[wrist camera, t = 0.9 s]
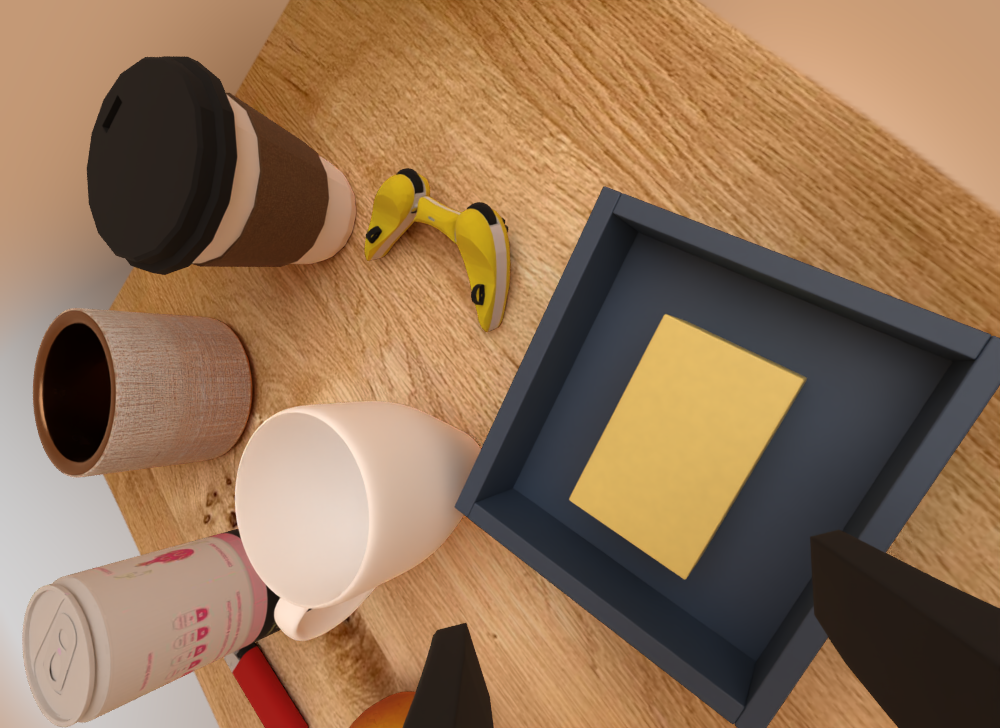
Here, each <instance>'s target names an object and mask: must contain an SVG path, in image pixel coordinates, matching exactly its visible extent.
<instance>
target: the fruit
mask: <svg viewBox="0 0 1000 728" xmlns="http://www.w3.org/2000/svg"><path fill="white" fill-rule="evenodd" d="M415 693H416V692H412V691H411V692H400V693H396V694H393V695H391V696H388V697H386V698H384V699H382V700H381V701H379V702H377V703H376V704H374V705H373V706H371V707H370V708H368V709H367V710H365V711H364V712H363V713H362V714H361V715H360V716H359V717H358V718H357V719H356V720H355V721H354V722H353V723H352V725H351V726H350V727H349V728H402V727H403V725H404V722H405V719H406V717H407V714H408V711H409V709H410V706H411V704H412V701H413V698H414V696H415Z"/></svg>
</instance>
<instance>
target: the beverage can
mask: <svg viewBox="0 0 1000 728" xmlns="http://www.w3.org/2000/svg"><path fill="white" fill-rule="evenodd" d="M279 599H280V597H279V596H278V595H276V594H275V593H274V592H273V591H272V590H271V589H270V588H269V587H268V586H267V585H266V584H265V583H264V582H263V581H262V579H261V578H260V577H259V575H258V574H257V572H256V571H255V569H254V568H253V566H252V564H251V562H250V560H249V558H248V556H247V554H246V551H245V549H244V546H243V543H242V540H241V537H240V533H239V529H236V530H232V531H228V532H225V533H221V534H217V535H214V536H210V537H206V538H203V539H199V540H195V541H192V542H188V543H184V544H181V545H177V546H173V547H170V548H166V549H163V550H159V551H155V552H152V553H148V554H144V555H141V556H137V557H134V558H130V559H126V560H122V561H119V562H115V563H111V564H108V565H104V566H101V567H97V568H93V569H89V570H86V571H82V572H78V573H75V574H71V575H68V576H64V577H61V578H59V579H57V580H56V581H55V582H53V584H49V585H46V586H43V587H41V588H39V589H38V590H37V591H36V592H35V593H34V595H33V596H32V597H31V599H30V601H29V604H28V606H27V609H26V613H25V618H24V625H23V658H24V665H25V670H26V675H27V679H28V682H29V686H30V689H31V692H32V694H33V697H34V699H35V701H36V703H37V705H38V707H39V708H40V710H41V712H42V713H43V714H44V716H45V717H46V718H47V719H48V720H49V721H50V722H51V723H53V724H55V725H57V726H60V727H68V726H71V725H73V724H75V723H77V722H88V721H91V720H93V719H95V718H97V717H99V716H101V715H103V714H105V713H107V712H110V711H112V710H114V709H116V708H118V707H120V706H122V705H124V704H126V703H128V702H130V701H132V700H135V699H137V698H138V697H141V696H143V695H145V694H147V693H149V692H151V691H153V690H156V689H158V688H160V687H162V686H164V685H166V684H168V683H170V682H172V681H174V680H176V679H178V678H181V677H183V676H185V675H187V674H189V673H191V672H193V671H195V670H197V669H199V668H202V667H204V666H206V665H208V664H210V663H212V662H214V661H216V660H218V659H220V658H222V657H225V656H227V655H229V654H231V653H233V652H235V651H237V650H239V649H241V648H243V647H245V646H247V645H250V644H252V643H254V642H256V641H258V640H260V639H262V638H264V637H266V636H268V635H270V634H273V633H275V632H277V631H279V630H281V629H280V628H279V627H278V625H277V624H276V621H275V618H274V611H275V607H276V605H277V603H278V601H279ZM310 610H312V609H310V608H309V609H308V611H310ZM308 611H307V612H308Z"/></svg>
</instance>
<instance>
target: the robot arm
mask: <svg viewBox="0 0 1000 728" xmlns="http://www.w3.org/2000/svg"><path fill="white" fill-rule="evenodd" d="M810 546H811V565H812V583H813V602H814V615H815V617H816V618H817V620H818V622H819V623H820V625H821V626H822V628H823V629H824V631H825V633H826V634H827V636H828V637H829V639H830V640H831V642H832V643H833V645H834V646H835V648H836V649H837V651H838V652H839V654H840V655H841V657H842V658H843V660H844V661H845V663H846V664H847V665H848V667H849V668H850V669H851V670H852V672H853V673H854V674H855V675H856V677H857V678H858V679H859V680H860V682H861V683H862V684H863V685H864V686H865V688H866V689H867V690H868V691H869V693H870V694H871V695H872V696H873V698H874V699H875V700H876V701H877V702H878V704H879V705H880V706H881V707H882V708H883V710H884V711H885V712H886V713H887V715H888V716H889V717H890V718H891V719H892V721H893V722H894V723H895V724H896V725H897V727H898V728H1000V608H997V607H995V606H993V605H991V604H988V603H986V602H984V601H982V600H980V599H978V598H976V597H973V596H971V595H969V594H967V593H965V592H963V591H961V590H959V589H957V588H955V587H952V586H950V585H948V584H946V583H944V582H942V581H940V580H938V579H936V578H934V577H932V576H930V575H928V574H926V573H924V572H922V571H920V570H918V569H916V568H914V567H912V566H910V565H908V564H906V563H904V562H902V561H900V560H898V559H897V558H895V557H893V556H891V555H889V554H887V553H885V552H883V551H881V550H879V549H877V548H875V547H873V546H871V545H869V544H867V543H865V542H863V541H861V540H859V539H857V538H855V537H853V536H851V535H849V534H847V533H845V532H843V531H841V530H835V531H831V532H827V533H823V534H819V535H815V536H811V537H810ZM402 728H494V727H493V719H492V711H491V703H490V696H489V693H488V690H487V687H486V683H485V680H484V677H483V674H482V671H481V668H480V665H479V661H478V658H477V655H476V652H475V649H474V646H473V642H472V639H471V636H470V633H469V630H468V627H467V624H466V623H464V624H460V625H456V626H452V627H448V628H444V629H440V630H437V631H436V633H435V634H434V635H433V638H432V642H431V646H430V649H429V653H428V656H427V660H426V663H425V666H424V669H423V672H422V675H421V678H420V681H419V684H418V687H417V690H416V693H415V696H414V698H413V701H412V704H411V706H410V709H409V711H408V714H407V717H406V719H405V722H404V725H403V727H402Z"/></svg>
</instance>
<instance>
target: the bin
mask: <svg viewBox="0 0 1000 728" xmlns="http://www.w3.org/2000/svg"><path fill="white" fill-rule="evenodd" d="M665 314H668V315H671V316H673V317H676V318H679V319H682V320H685V321H688V322H690V323H692V324H694V325H696V326H698V327H700V328H703V329H705V330H707V331H709V332H711V333H713V334H715V335H717V336H720V337H722V338H724V339H726V340H728V341H730V342H732V343H734V344H737V345H739V346H741V347H743V348H745V349H747V350H749V351H751V352H754V353H756V354H758V355H760V356H762V357H764V358H766V359H768V360H771V361H773V362H775V363H777V364H779V365H781V366H783V367H785V368H788V369H790V370H792V371H794V372H796V373H798V374H800V375H803V376H805V377H806V378H807V380H806V382H805V384H804V386H803V387H802V389H801V391H800V392H799V394H798V396H797V397H796V399H795V401H794V402H793V404H792V406H791V407H790V409H789V411H788V412H787V414H786V416H785V417H784V419H783V421H782V423H781V424H780V426H779V428H778V429H777V431H776V433H775V434H774V436H773V438H772V439H771V441H770V443H769V444H768V446H767V448H766V449H765V451H764V453H763V454H762V456H761V458H760V459H759V461H758V463H757V465H756V466H755V468H754V470H753V471H752V473H751V475H750V476H749V478H748V480H747V481H746V483H745V485H744V486H743V488H742V490H741V491H740V493H739V495H738V496H737V498H736V500H735V502H734V503H733V505H732V507H731V508H730V510H729V512H728V513H727V515H726V517H725V518H724V520H723V522H722V523H721V525H720V527H719V528H718V530H717V532H716V533H715V535H714V537H713V539H712V540H711V542H710V544H709V545H708V547H707V549H706V550H705V552H704V553H703V555H702V556H701V558H700V559H699V561H698V562H697V564H696V565H695V567H694V568H693V570H692V571H691V573H690V574H689V576H688V577H687V579H683V578H681V577H680V576H678V575H677V574H675V573H674V572H673V571H671V570H670V569H668V568H667V567H665V566H664V565H662V564H661V563H660V562H658V561H657V560H655V559H654V558H652V557H651V556H649V555H648V554H646V553H645V552H644V551H642V550H641V549H639V548H638V547H636V546H635V545H633V544H632V543H630V542H629V541H628V540H626V539H625V538H623V537H622V536H620V535H619V534H617V533H616V532H615V531H613V530H612V529H610V528H609V527H607V526H606V525H604V524H603V523H601V522H600V521H599V520H597V519H596V518H594V517H593V516H591V515H590V514H588V513H587V512H586V511H584V510H583V509H581V508H580V507H578V506H577V505H575V504H574V503H572V502H571V501H570V500H569V498H570V496H571V494H572V492H573V490H574V488H575V486H576V484H577V482H578V480H579V478H580V476H581V474H582V472H583V471H584V469H585V467H586V465H587V463H588V461H589V459H590V457H591V455H592V453H593V451H594V449H595V447H596V445H597V443H598V442H599V440H600V438H601V436H602V434H603V432H604V430H605V428H606V426H607V424H608V422H609V420H610V418H611V416H612V414H613V413H614V411H615V409H616V407H617V405H618V403H619V401H620V399H621V397H622V395H623V393H624V391H625V389H626V387H627V385H628V384H629V382H630V380H631V378H632V376H633V374H634V372H635V370H636V368H637V366H638V364H639V362H640V360H641V358H642V356H643V355H644V353H645V351H646V349H647V347H648V345H649V343H650V341H651V339H652V337H653V335H654V333H655V331H656V329H657V327H658V326H659V324H660V322H661V320H662V318H663V316H664V315H665ZM999 386H1000V338H998V337H996V336H991V335H990V334H988V333H986V332H983V331H980V330H978V329H975V328H973V327H970V326H967V325H965V324H962V323H960V322H957V321H954V320H952V319H949V318H947V317H944V316H941V315H939V314H936V313H934V312H931V311H928V310H926V309H923V308H921V307H918V306H915V305H913V304H910V303H907V302H905V301H902V300H900V299H897V298H894V297H892V296H889V295H887V294H884V293H881V292H879V291H876V290H874V289H871V288H868V287H866V286H863V285H861V284H858V283H855V282H853V281H850V280H848V279H845V278H842V277H840V276H837V275H834V274H832V273H829V272H827V271H824V270H821V269H819V268H816V267H814V266H811V265H808V264H806V263H803V262H801V261H798V260H795V259H793V258H790V257H788V256H785V255H782V254H780V253H777V252H775V251H772V250H769V249H767V248H764V247H761V246H759V245H756V244H754V243H751V242H748V241H746V240H743V239H741V238H738V237H735V236H733V235H730V234H728V233H725V232H722V231H720V230H717V229H715V228H712V227H709V226H707V225H704V224H702V223H699V222H696V221H694V220H691V219H689V218H686V217H683V216H681V215H678V214H675V213H673V212H670V211H668V210H665V209H662V208H660V207H657V206H655V205H652V204H649V203H647V202H644V201H642V200H639V199H636V198H634V197H631V196H629V195H626V194H622V193H621V192H618V191H615V190H613V189H610V188H608V187H603V189H602V191H601V193H600V195H599V197H598V199H597V202H596V204H595V206H594V208H593V210H592V212H591V214H590V217H589V219H588V221H587V223H586V225H585V227H584V230H583V232H582V234H581V236H580V238H579V240H578V242H577V245H576V247H575V249H574V251H573V253H572V255H571V257H570V260H569V262H568V264H567V266H566V268H565V270H564V272H563V275H562V277H561V279H560V281H559V283H558V285H557V287H556V290H555V292H554V294H553V296H552V298H551V300H550V302H549V305H548V307H547V309H546V311H545V313H544V315H543V318H542V320H541V322H540V324H539V326H538V328H537V330H536V333H535V335H534V337H533V339H532V341H531V343H530V345H529V348H528V350H527V352H526V354H525V356H524V358H523V360H522V363H521V365H520V367H519V369H518V371H517V373H516V375H515V378H514V380H513V382H512V384H511V386H510V388H509V390H508V393H507V395H506V397H505V399H504V401H503V403H502V406H501V408H500V410H499V412H498V414H497V416H496V418H495V421H494V423H493V425H492V427H491V429H490V431H489V433H488V436H487V438H486V440H485V442H484V444H483V446H482V448H481V451H480V453H479V455H478V457H477V459H476V461H475V463H474V466H473V468H472V470H471V472H470V474H469V476H468V478H467V481H466V483H465V485H464V487H463V489H462V491H461V494H460V496H459V498H458V500H457V502H456V504H455V508H456V509H457V510H458V511H460V512H461V513H462V514H464V515H465V516H466V517H468V519H470V520H471V521H472V522H474V523H475V524H476V525H477V526H479V527H480V528H481V529H483V530H484V531H485V532H486V533H488V534H489V535H490V536H492V537H493V538H494V539H495V540H497V541H498V542H499V543H501V544H502V545H503V546H504V547H506V548H507V549H508V550H510V551H511V552H512V553H513V554H515V555H516V556H517V557H519V558H520V559H521V560H522V561H524V562H525V563H526V564H528V565H529V566H530V567H531V568H533V569H534V570H535V571H536V572H538V573H539V574H540V575H542V576H543V577H544V578H545V579H547V580H548V581H549V582H551V583H552V584H553V585H554V586H556V587H557V588H558V589H560V590H561V591H562V592H563V593H565V594H566V595H567V596H569V597H570V598H571V599H572V600H574V601H575V602H576V603H578V604H579V605H580V606H581V607H583V608H584V609H585V610H587V611H588V612H589V613H590V614H592V615H593V616H594V617H596V618H597V619H598V620H599V621H601V622H602V623H603V624H604V625H606V626H607V627H608V628H610V629H611V630H612V631H613V632H615V633H616V634H617V635H619V636H620V637H621V638H622V639H624V640H625V641H626V642H628V643H629V644H630V645H631V646H633V647H634V648H635V649H637V650H638V651H639V652H640V653H642V654H643V655H644V656H646V657H647V658H648V659H649V660H651V661H652V662H653V663H655V664H656V665H657V666H658V667H660V668H661V669H662V670H664V671H665V672H666V673H667V674H669V675H670V676H671V677H673V678H674V679H675V680H676V681H678V682H679V683H680V684H681V685H683V686H684V687H685V688H687V689H688V690H689V691H690V692H692V693H693V694H694V695H696V696H697V697H698V698H699V699H701V700H702V701H703V702H705V703H706V704H707V705H708V706H710V707H711V708H712V709H714V710H715V711H716V712H717V713H719V714H720V715H721V716H723V717H724V718H725V719H726V720H728V721H729V722H730V723H732V724H734V723H735V726H736V727H737V728H767V726H768V725H769V723H770V722H771V720H772V719H773V717H774V716H775V715H776V713H777V712H778V710H779V709H780V707H781V706H782V704H783V703H784V701H785V700H786V698H787V697H788V695H789V694H790V693H791V691H792V690H793V688H794V687H795V685H796V684H797V682H798V681H799V679H800V678H801V676H802V675H803V673H804V672H805V670H806V669H807V668H808V666H809V665H810V663H811V662H812V660H813V659H814V657H815V656H816V654H817V653H818V651H819V650H820V648H821V647H822V646H823V644H824V643H825V641H826V640H827V638H828V636H827V634H826V633H825V631H824V629H823V628H822V626H821V625H820V623H819V622H818V620H817V618H816V617H815V615H814V602H813V583H812V565H811V546H810V537H811V536H815V535H819V534H823V533H827V532H831V531H835V530H841V531H843V532H845V533H847V534H849V535H851V536H853V537H855V538H857V539H859V540H861V541H863V542H865V543H867V544H869V545H871V546H873V547H875V548H877V549H879V550H881V551H883V552H885V553H886V552H887V550H888V549H889V547H890V546H891V544H892V543H893V541H894V540H895V538H896V537H897V535H898V534H899V532H900V531H901V530H902V528H903V527H904V525H905V524H906V522H907V521H908V519H909V518H910V516H911V515H912V513H913V512H914V510H915V509H916V508H917V506H918V505H919V503H920V502H921V500H922V499H923V497H924V496H925V494H926V493H927V491H928V490H929V488H930V487H931V486H932V484H933V483H934V481H935V480H936V478H937V477H938V475H939V474H940V472H941V471H942V469H943V468H944V466H945V465H946V464H947V462H948V461H949V459H950V458H951V456H952V455H953V453H954V452H955V450H956V449H957V447H958V446H959V444H960V443H961V441H962V440H963V439H964V437H965V436H966V434H967V433H968V431H969V430H970V428H971V427H972V425H973V424H974V422H975V421H976V419H977V418H978V417H979V415H980V414H981V412H982V411H983V409H984V408H985V406H986V405H987V403H988V402H989V400H990V399H991V397H992V396H993V395H994V393H995V392H996V390H997V389H998V387H999Z"/></svg>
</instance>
